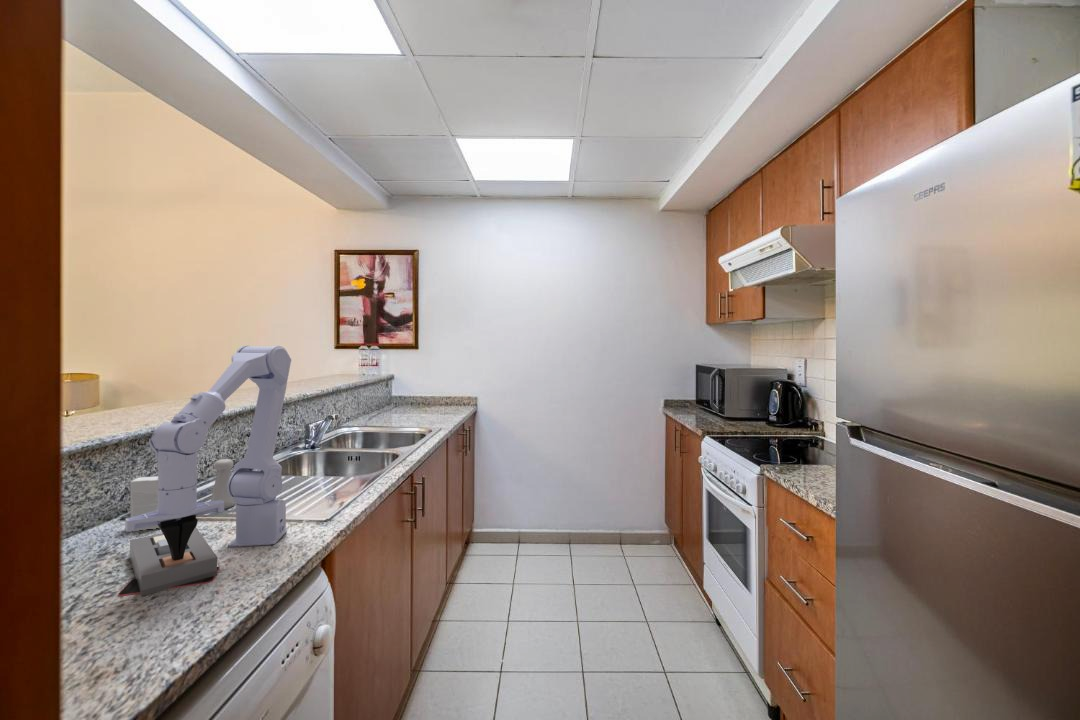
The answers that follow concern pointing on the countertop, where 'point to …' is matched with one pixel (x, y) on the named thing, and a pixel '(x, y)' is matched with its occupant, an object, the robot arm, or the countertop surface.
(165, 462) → the robot arm
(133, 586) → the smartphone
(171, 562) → the key terracotta
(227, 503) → the salt shaker
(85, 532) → the countertop surface
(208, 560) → the slotted grey tray
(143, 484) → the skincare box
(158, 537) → the key cream
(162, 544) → the key slate
